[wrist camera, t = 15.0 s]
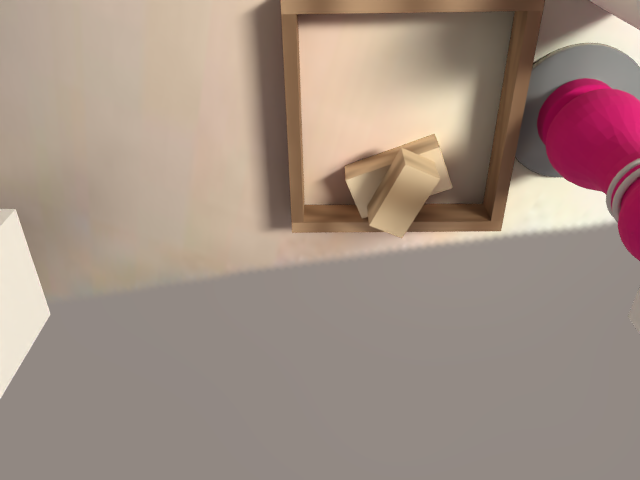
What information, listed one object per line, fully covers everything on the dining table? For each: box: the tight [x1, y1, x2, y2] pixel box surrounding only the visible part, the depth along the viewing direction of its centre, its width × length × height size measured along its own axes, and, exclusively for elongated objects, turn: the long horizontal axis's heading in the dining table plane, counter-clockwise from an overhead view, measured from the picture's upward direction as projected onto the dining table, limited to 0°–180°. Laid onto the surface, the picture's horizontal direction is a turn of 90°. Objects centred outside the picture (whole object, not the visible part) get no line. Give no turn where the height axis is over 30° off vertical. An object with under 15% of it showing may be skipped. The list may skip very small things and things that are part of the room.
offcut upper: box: [367, 147, 440, 238], centre depth 46 cm, size 6×3×3 cm, turn 156°
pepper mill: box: [537, 78, 640, 261], centre depth 37 cm, size 7×7×20 cm
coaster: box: [515, 43, 640, 177], centre depth 46 cm, size 11×11×1 cm
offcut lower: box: [345, 134, 453, 219], centre depth 48 cm, size 8×4×3 cm, turn 112°
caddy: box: [280, 0, 545, 233], centre depth 45 cm, size 18×19×3 cm
